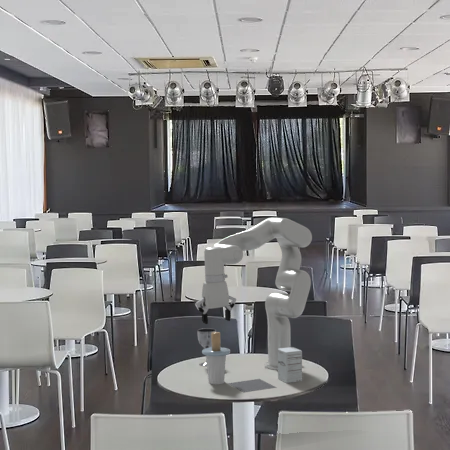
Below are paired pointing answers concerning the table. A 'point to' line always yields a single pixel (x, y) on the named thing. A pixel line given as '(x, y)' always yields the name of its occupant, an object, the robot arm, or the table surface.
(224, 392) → the table surface
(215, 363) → the cup
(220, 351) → the lid
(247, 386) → the mat
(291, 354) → the supplement box
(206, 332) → the wine glass
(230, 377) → the table surface
